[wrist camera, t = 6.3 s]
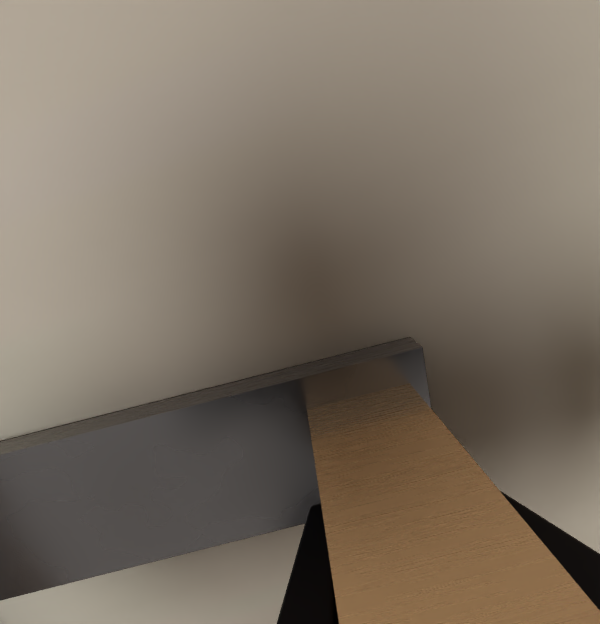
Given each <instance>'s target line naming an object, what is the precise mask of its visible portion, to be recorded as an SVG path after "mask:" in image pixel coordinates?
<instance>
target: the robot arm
mask: <svg viewBox="0 0 600 624" xmlns="http://www.w3.org/2000/svg"><path fill="white" fill-rule="evenodd" d="M499 491H500V490H499ZM500 492H501V491H500ZM501 493H502V494H503V496H504V497H505V498H506V499H507V500H508V502H509V503H510V504H511V505H512V506H513V508H514V509H515V510H516V511H517V512H518V514H519V515H520V516H521V517H522V518H523V519H524V521H525V522H526V523H527V524H528V525H529V527H530V528H531V529H532V530H533V531H534V533H535V534H536V535H537V536H538V537H539V539H540V540H541V541H542V542H543V543H544V545H545V546H546V547H547V548H548V549H549V551H550V552H551V553H552V554H553V555H554V557H555V558H556V559H557V560H558V561H559V563H560V564H561V565H562V566H563V567H564V569H565V570H566V571H567V572H568V573H569V575H570V576H571V577H572V578H573V579H574V581H575V582H576V583H577V584H578V585H579V587H580V588H581V589H582V590H583V591H584V593H585V594H586V595H587V596H588V597H589V599H590V600H591V601H592V602H593V603H594V604H595V606H596V607H597V608H598V609H599V610H600V554H599V553H597V552H596V551H594V550H593V549H591V548H590V547H588V546H586V545H585V544H583V543H582V542H580V541H578V540H577V539H575V538H574V537H572V536H571V535H569V534H567V533H566V532H564V531H563V530H561V529H560V528H558V527H556V526H555V525H553V524H552V523H550V522H548V521H547V520H545V519H544V518H542V517H541V516H539V515H537V514H536V513H534V512H533V511H531V510H530V509H528V508H526V507H525V506H523V505H522V504H520V503H518V502H517V501H515V500H514V499H512V498H511V497H509V496H507V495H506V494H504V493H503V492H501ZM277 624H339V619H338V613H337V606H336V599H335V593H334V586H333V580H332V573H331V566H330V560H329V553H328V546H327V540H326V533H325V526H324V520H323V513H322V507H321V503H319V504H315V505H312V506H311V507H310V510H309V513H308V517H307V520H306V524H305V527H304V531H303V534H302V538H301V541H300V544H299V548H298V551H297V555H296V558H295V562H294V565H293V569H292V572H291V576H290V579H289V583H288V586H287V590H286V593H285V597H284V600H283V604H282V607H281V610H280V614H279V617H278V621H277Z"/></svg>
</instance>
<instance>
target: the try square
mask: <svg viewBox="0 0 600 624" xmlns="http://www.w3.org/2000/svg"><path fill="white" fill-rule="evenodd" d="M319 503H321V507H322V513H323V520H324V526H325V533H326V540H327V546H328V553H329V560H330V566H331V573H332V580H333V586H334V593H335V599H336V606H337V613H338V619H339V624H600V610H599V609H598V608H597V607H596V606H595V604H594V603H593V602H592V601H591V600H590V599H589V597H588V596H587V595H586V594H585V593H584V591H583V590H582V589H581V588H580V587H579V585H578V584H577V583H576V582H575V581H574V579H573V578H572V577H571V576H570V575H569V573H568V572H567V571H566V570H565V569H564V567H563V566H562V565H561V564H560V563H559V561H558V560H557V559H556V558H555V557H554V555H553V554H552V553H551V552H550V551H549V549H548V548H547V547H546V546H545V545H544V543H543V542H542V541H541V540H540V539H539V537H538V536H537V535H536V534H535V533H534V531H533V530H532V529H531V528H530V527H529V525H528V524H527V523H526V522H525V521H524V519H523V518H522V517H521V516H520V515H519V514H518V512H517V511H516V510H515V509H514V508H513V506H512V505H511V504H510V503H509V502H508V500H507V499H506V498H505V497H504V496H503V494H502V493H501V492H500V491H499V490H498V488H497V487H496V486H495V485H494V484H493V482H492V481H491V480H490V479H489V478H488V476H487V475H486V474H485V473H484V472H483V470H482V469H481V468H480V467H479V466H478V464H477V463H476V462H475V461H474V460H473V458H472V457H471V456H470V455H469V454H468V452H467V451H466V450H465V449H464V448H463V446H462V445H461V444H460V443H459V442H458V440H457V439H456V438H455V437H454V436H453V435H452V433H451V432H450V431H449V430H448V429H447V427H446V426H445V425H444V424H443V423H442V421H441V420H440V419H439V418H438V417H437V415H436V414H435V413H434V412H433V411H432V409H431V404H430V397H429V390H428V383H427V376H426V369H425V362H424V355H423V348H422V346H420V345H419V344H418V343H417V342H416V341H414V340H413V339H412V338H411V337H409V338H405V339H401V340H397V341H393V342H389V343H385V344H381V345H377V346H373V347H369V348H365V349H361V350H358V351H354V352H350V353H346V354H342V355H338V356H334V357H330V358H326V359H322V360H318V361H314V362H310V363H307V364H303V365H299V366H295V367H291V368H287V369H283V370H279V371H275V372H271V373H267V374H263V375H259V376H256V377H252V378H248V379H244V380H240V381H236V382H232V383H228V384H224V385H220V386H216V387H212V388H208V389H205V390H201V391H197V392H193V393H189V394H185V395H181V396H177V397H173V398H169V399H165V400H161V401H157V402H154V403H150V404H146V405H142V406H138V407H134V408H130V409H126V410H122V411H118V412H114V413H110V414H106V415H103V416H99V417H95V418H91V419H87V420H83V421H79V422H75V423H71V424H67V425H63V426H59V427H55V428H51V429H48V430H44V431H40V432H36V433H32V434H28V435H24V436H20V437H16V438H12V439H8V440H4V441H0V600H4V599H8V598H12V597H16V596H20V595H24V594H28V593H32V592H36V591H39V590H43V589H47V588H51V587H55V586H59V585H63V584H67V583H71V582H75V581H79V580H83V579H87V578H91V577H95V576H99V575H103V574H107V573H111V572H115V571H119V570H122V569H126V568H130V567H134V566H138V565H142V564H146V563H150V562H154V561H158V560H162V559H166V558H170V557H174V556H178V555H182V554H186V553H190V552H194V551H198V550H201V549H205V548H209V547H213V546H217V545H221V544H225V543H229V542H233V541H237V540H241V539H245V538H249V537H253V536H257V535H261V534H265V533H269V532H273V531H277V530H281V529H284V528H288V527H292V526H296V525H300V524H304V523H306V520H307V517H308V513H309V510H310V507H311V506H312V505H315V504H319Z"/></svg>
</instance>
